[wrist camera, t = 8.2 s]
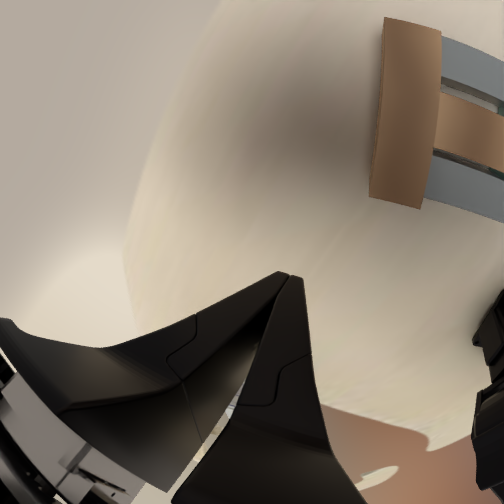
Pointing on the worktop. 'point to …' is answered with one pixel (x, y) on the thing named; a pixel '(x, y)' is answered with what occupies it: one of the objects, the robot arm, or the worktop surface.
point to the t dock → (457, 170)
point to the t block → (423, 117)
